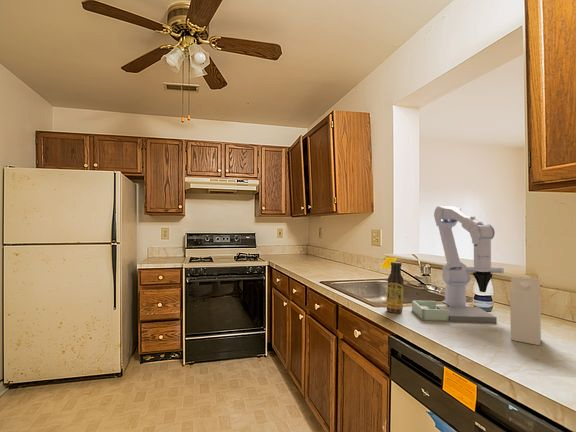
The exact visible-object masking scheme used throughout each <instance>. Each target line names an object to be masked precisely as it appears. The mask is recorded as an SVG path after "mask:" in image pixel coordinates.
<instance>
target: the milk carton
mask: <svg viewBox="0 0 576 432" xmlns="http://www.w3.org/2000/svg"><path fill="white" fill-rule="evenodd" d="M509 296H510V297H509V298H510V299H509V300H510V301H509V304H510V305H509V307H510V316H509V317H510V340H511V341H516V342H520V343H525V344H531V345H535V346H536V345H537V346H541V340H542V322H541V320H542V319H541V318H542V317H541V309H542V308H541V307H542V305H541V300H542V299H541V279H540V278H534V277H533V278H531V277H523V276H521V277H520V276H513V275H512V276H511V279H510V289H509Z"/></svg>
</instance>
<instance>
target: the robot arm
mask: <svg viewBox="0 0 576 432" xmlns="http://www.w3.org/2000/svg"><path fill="white" fill-rule="evenodd" d="M433 217H434V222H435V225H436V227H438V231H439V235H440V239H441V244H442V246H443V248H442V249H443V251H444V257H445V261H446V264H444V265H443V266H442V269H441V271H442V280H443V281H444V283H445V284H446V285H445V286H444V300H442V303H445V305H446V306H451V307H471V306H470V305H468V304H467V297H466V296H467V292H466V291H467V289H466V288H467V286H468V284H469V283H470V281H471V278H472V277H471V273H472V275H473V277H474V278H475V281H476V283H477V286H478V289H479V290H478V291H479V292H480V293H486V292H487V288H488V285H489V282H491V279H492V278H493V274H504V273H505V269H504V268H503V267H494V266H493V267H492V240H493V239H494V237H495V229H494V227H493V226H492V225H491V224H484V223H483V222H482V221H480V220H478V219H477V218H476V216H473V215H472V216H470V215H469V216H467V215H466V214H465V213H464V212H463V211H462V208H461V207H459V206H456V205H455V206H441V205H438V206H436V208H435V209H434V213H433ZM457 223H461V227H462V228H463V229H464V230H466V231H467V232H468V233H469V236H470V238H471V243H472V244H473V266H467V265H466V263H463V262H462V261H461V260H460V256H459V253H458V249H457V245H456V241H455V238H454V237H455V236H454V234H453V227H456V225H457Z"/></svg>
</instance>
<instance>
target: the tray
mask: <svg viewBox="0 0 576 432" xmlns="http://www.w3.org/2000/svg"><path fill="white" fill-rule="evenodd" d="M421 306H427V307H428V308H429V309H423V308H422V307H421ZM436 306H437V301H436V300H411V311H412V312H413V313H414V314H415V315H416V316H417V317H418V318H420V320H421V321H427V322H429V321H430V322H431V321H433V322H450V321H449V310H442V309H437V308H436Z"/></svg>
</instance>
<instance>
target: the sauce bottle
mask: <svg viewBox="0 0 576 432" xmlns="http://www.w3.org/2000/svg"><path fill="white" fill-rule="evenodd" d="M390 266H391V270H390V274H389V275H388V278H387V287H386V311H387V312H389V313H392V314H400V313H402V312H403V308H404V278H403V276H402V262H399V261H391V262H390Z"/></svg>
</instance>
